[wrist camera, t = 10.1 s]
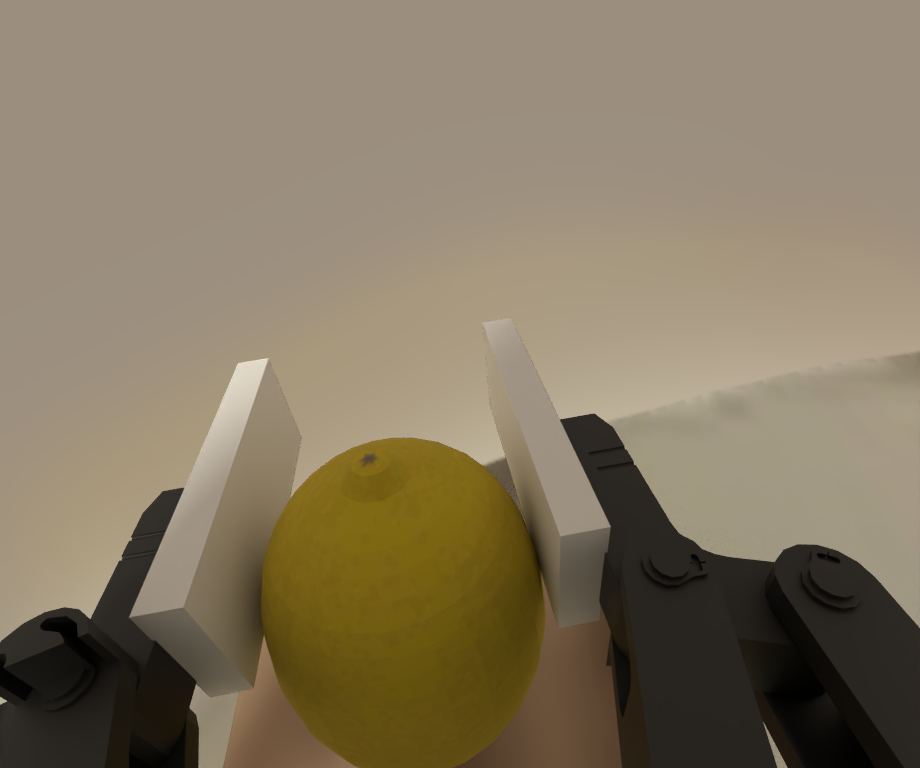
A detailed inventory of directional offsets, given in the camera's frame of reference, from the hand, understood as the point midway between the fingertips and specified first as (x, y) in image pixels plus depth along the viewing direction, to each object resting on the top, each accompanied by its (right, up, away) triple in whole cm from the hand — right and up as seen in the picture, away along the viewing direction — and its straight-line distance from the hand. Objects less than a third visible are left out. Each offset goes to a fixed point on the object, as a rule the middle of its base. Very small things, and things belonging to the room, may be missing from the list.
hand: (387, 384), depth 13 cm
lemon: (+1, -8, 0) cm, 8 cm away
